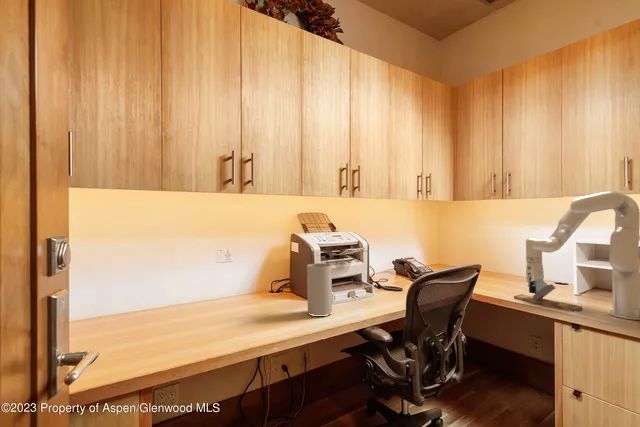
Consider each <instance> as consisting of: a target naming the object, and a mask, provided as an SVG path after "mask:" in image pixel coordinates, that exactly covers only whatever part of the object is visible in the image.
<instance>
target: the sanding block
mask: <svg viewBox="0 0 640 427" xmlns="http://www.w3.org/2000/svg"><path fill="white" fill-rule="evenodd" d="M531 282H532V281H531ZM532 283H533V282H532ZM527 286H528V288H529V284H528V283H527ZM535 286H536V293H535V294H532V296H533V297H534V298H535V299H536V300H538V299H542V298H543V299H544V298H545V297H546V296H548V294H550V293H552V292H553V290H555V289H556V286H555V285H553V283H552V284H548V283H547V282H546V281H545V280H544V279H538V281H535Z"/></svg>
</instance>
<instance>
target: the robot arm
mask: <svg viewBox="0 0 640 427" xmlns="http://www.w3.org/2000/svg"><path fill="white" fill-rule="evenodd" d="M569 205H570V207H569V208H568V210H566V212H565V213H564V214H563V215H562V216H561V218H560V219H559V220H558V224H557V227H556V229H555V230H554V231H553V233H552V234H551V235H550V236H549V237H548V238H542V239H541V238H536V237H529V238H526V239H525V258H526V259H525V261H526V267H525V279H526V282H527V285H528V284H529V287H528V293H530V294H533V295H535V293H536V286H535V281H538V279H543V280H544V279H545V276H544V272H545V271H544V265H543V253H547V254H548V253H554V252H557V251H559V250H560V249H561V248H562V247H563V246H564V245H565V243H567V242H568V240H569V239H570V238H571V237H572V236H573V234H574V233H575V232H576V230H577V229H578V228H579V227H580V226H581V225H582V223H584V221H585V220H586V219H587V218H588V216H590V214H591V213H597V212H603V211H608V210H613V211H614V214H615V215H614V231H613V232H612V233H611V235H610V239H609V255H608V256H609V257H608V262H609V264H610V266H611V268H612V270H611V272H612V273H611V276H612V278H611V281H612V309H610V310H609V311H608V315H610V316H612V317H615V318H619V319H625V320H633V321H640V257H639V244H640V208H639V205H638V203H637V202H636V201H635V200H634V199H633V198H632V197H630V196H628V194H625V193H622V192H619V191H615V190H610V191H609V190H607V191H604V192H599V193H593V194H590V195H584V196H580V197H576V198H574V199H573V200H572V201H571V203H570V204H569ZM532 282H533V283H532Z"/></svg>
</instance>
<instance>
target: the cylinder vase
mask: <svg viewBox="0 0 640 427" xmlns="http://www.w3.org/2000/svg"><path fill="white" fill-rule="evenodd" d="M332 277H333V276H332V264H331V263H325V262H321V263H320V262H319V263H318V262H317V263H310V264H307V265H306V280H307V281H306V284H307V285H306V288H307V289H306V290H307V314H308V313H310V314H314V315H326V314H330V313H331V312H332V313H333V298H332V297H333V293H332V292H333V290H332V288H333V287H332V286H333V285H332V282H333V281H332V279H333V278H332Z"/></svg>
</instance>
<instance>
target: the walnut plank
mask: <svg viewBox="0 0 640 427" xmlns="http://www.w3.org/2000/svg"><path fill="white" fill-rule="evenodd" d="M513 299H514V300H519V301H521V302H527V303H532V304H537V305H542V306H545V307H550V308H555V309H560V310H565V311H569V310H570V312H574V311H576V312H578V311H581V310H583V306H582V305H577V304H573V303H566V302H561V301H558V300H551V299H546V298H544V297H543V298H542V299H538V300H536V299H535V298H534V297H533V295H526V294H517V295H514V296H513Z"/></svg>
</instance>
